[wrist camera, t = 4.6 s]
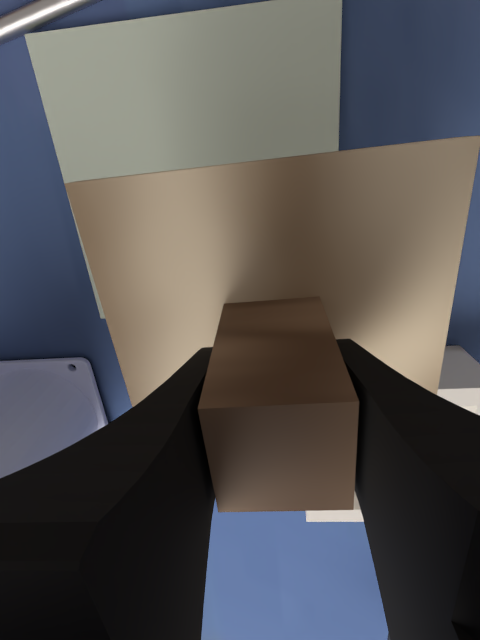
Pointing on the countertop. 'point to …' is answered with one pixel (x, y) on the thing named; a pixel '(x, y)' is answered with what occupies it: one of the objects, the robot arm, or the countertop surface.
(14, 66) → the countertop surface
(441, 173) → the birch lid
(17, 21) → the chopping board
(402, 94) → the countertop surface
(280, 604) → the countertop surface
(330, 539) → the countertop surface
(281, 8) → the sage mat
